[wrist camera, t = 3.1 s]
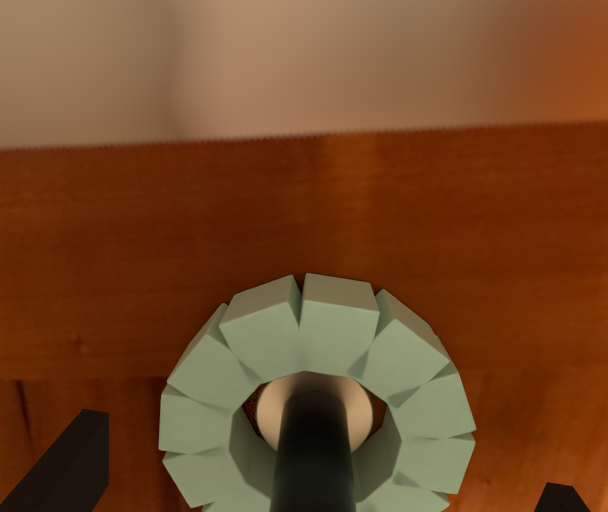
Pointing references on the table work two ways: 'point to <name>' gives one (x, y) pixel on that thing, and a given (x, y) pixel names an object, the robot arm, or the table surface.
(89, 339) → the table surface
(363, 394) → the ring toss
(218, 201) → the table surface
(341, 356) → the ring
